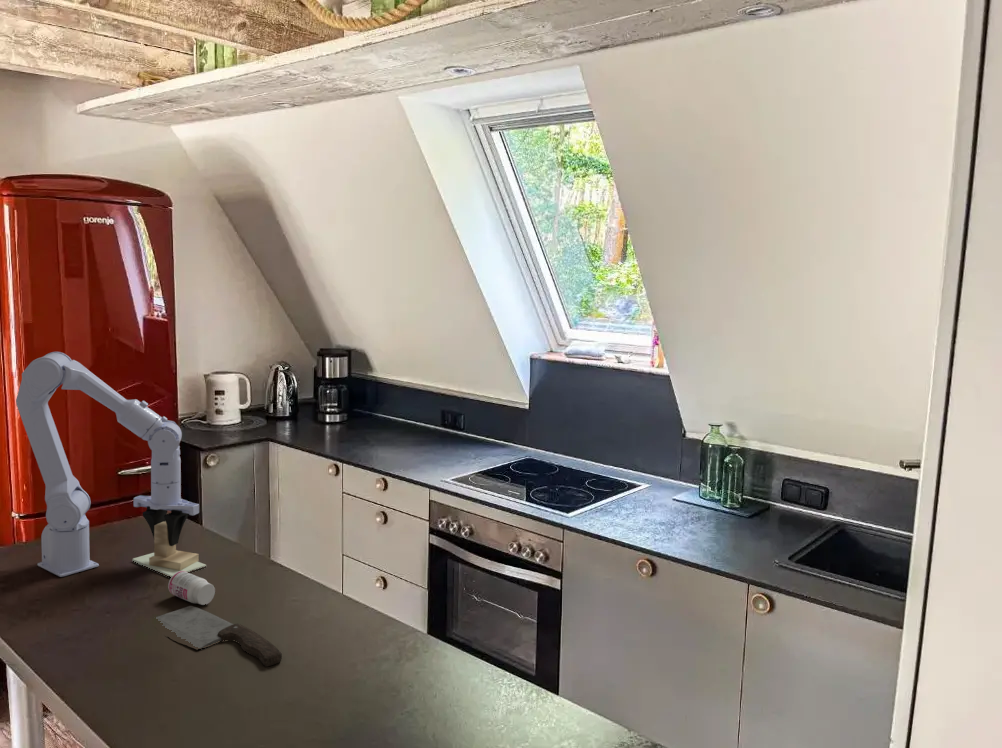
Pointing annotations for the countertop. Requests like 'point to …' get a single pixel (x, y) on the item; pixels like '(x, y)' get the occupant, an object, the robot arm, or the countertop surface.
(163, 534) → the wooden post on base
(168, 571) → the board
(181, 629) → the cleaver
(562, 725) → the countertop surface
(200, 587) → the pill bottle
